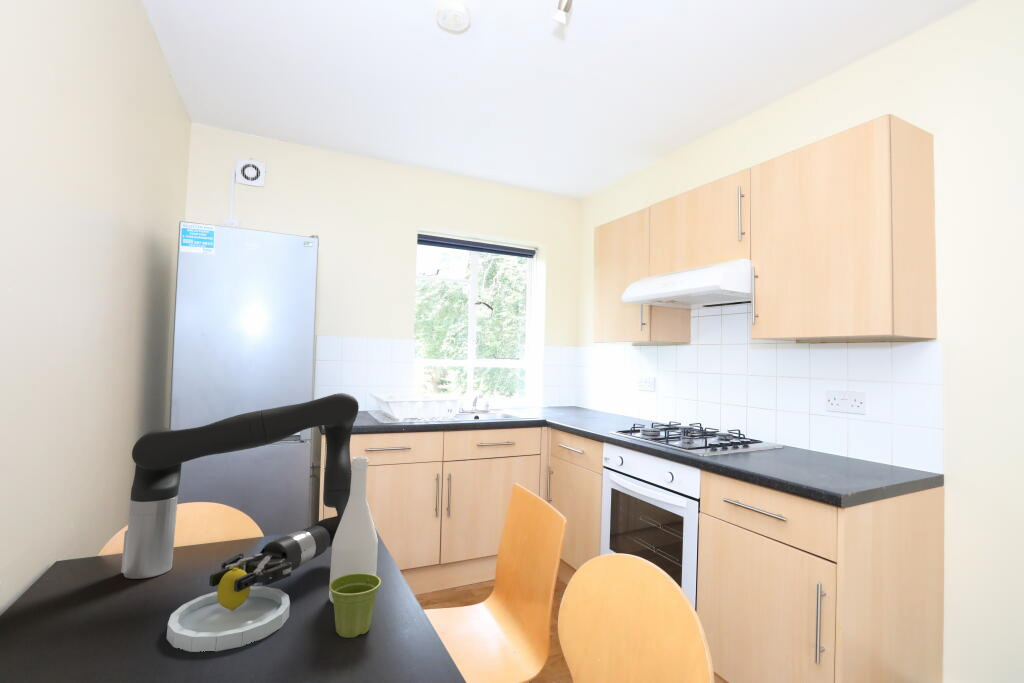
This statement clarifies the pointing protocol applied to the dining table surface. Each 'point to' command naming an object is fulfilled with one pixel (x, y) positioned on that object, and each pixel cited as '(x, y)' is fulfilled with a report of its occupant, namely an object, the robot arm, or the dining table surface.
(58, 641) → the dining table surface
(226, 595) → the lemon
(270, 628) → the dish
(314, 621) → the dining table surface
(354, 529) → the wine bottle
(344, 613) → the plant pot
